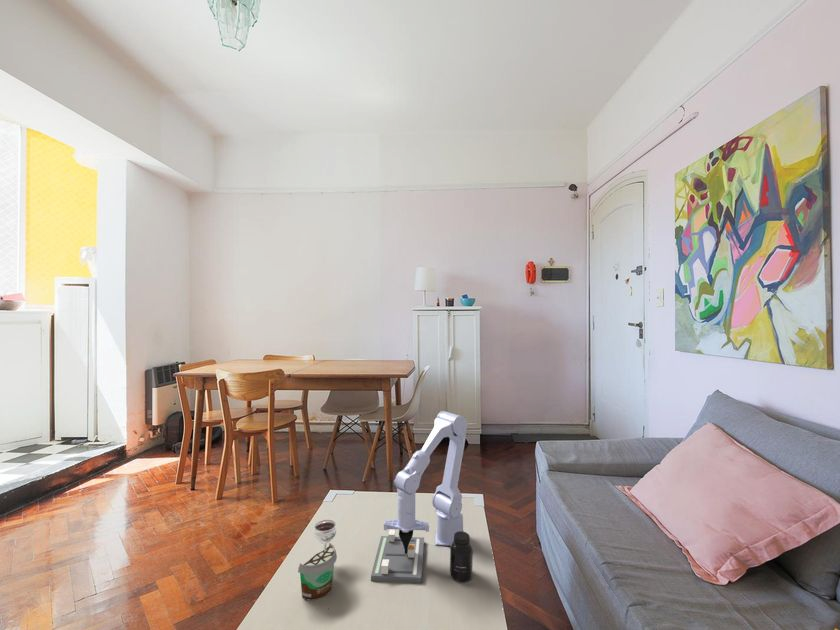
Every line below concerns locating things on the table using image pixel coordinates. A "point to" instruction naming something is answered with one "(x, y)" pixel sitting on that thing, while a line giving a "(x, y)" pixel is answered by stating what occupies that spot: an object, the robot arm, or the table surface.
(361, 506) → the table surface
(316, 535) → the wineglass
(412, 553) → the block
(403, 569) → the panel
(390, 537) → the block
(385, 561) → the block
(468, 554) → the supplement bottle
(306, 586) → the food container
